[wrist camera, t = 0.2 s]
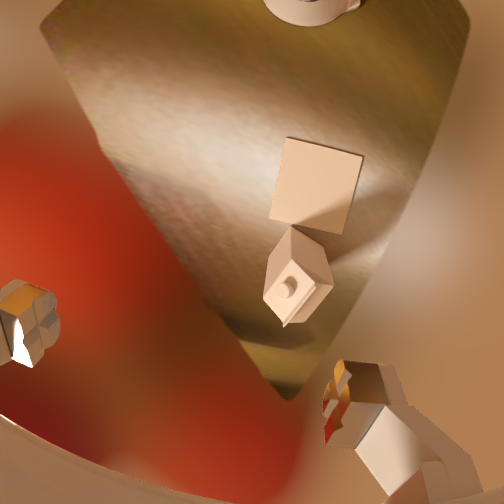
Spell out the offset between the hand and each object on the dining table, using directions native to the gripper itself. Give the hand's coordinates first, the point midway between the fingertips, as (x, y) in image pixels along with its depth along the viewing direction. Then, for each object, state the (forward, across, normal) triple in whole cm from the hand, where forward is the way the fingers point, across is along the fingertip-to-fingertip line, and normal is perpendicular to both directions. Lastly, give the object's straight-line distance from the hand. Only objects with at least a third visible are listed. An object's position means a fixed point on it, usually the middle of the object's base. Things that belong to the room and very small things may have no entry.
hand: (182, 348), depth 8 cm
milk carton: (+48, -7, +15) cm, 51 cm away
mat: (+48, -8, +3) cm, 48 cm away
